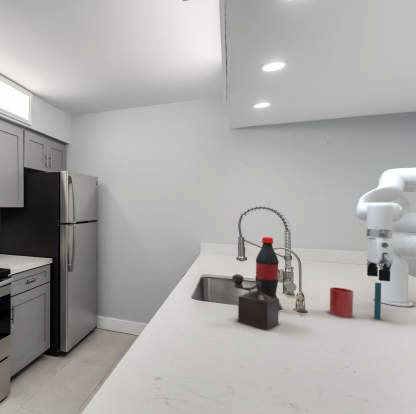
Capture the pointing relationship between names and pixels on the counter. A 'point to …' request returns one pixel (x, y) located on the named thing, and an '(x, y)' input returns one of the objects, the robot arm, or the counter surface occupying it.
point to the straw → (377, 301)
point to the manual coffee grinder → (256, 306)
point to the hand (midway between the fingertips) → (378, 278)
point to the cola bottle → (267, 268)
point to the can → (341, 302)
